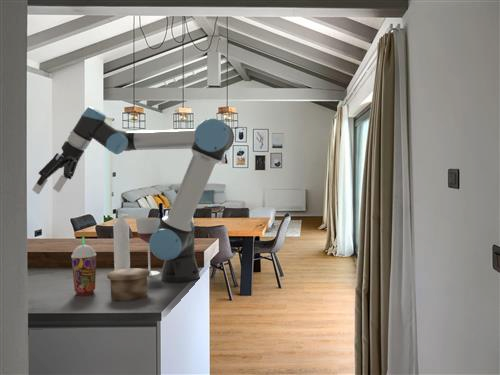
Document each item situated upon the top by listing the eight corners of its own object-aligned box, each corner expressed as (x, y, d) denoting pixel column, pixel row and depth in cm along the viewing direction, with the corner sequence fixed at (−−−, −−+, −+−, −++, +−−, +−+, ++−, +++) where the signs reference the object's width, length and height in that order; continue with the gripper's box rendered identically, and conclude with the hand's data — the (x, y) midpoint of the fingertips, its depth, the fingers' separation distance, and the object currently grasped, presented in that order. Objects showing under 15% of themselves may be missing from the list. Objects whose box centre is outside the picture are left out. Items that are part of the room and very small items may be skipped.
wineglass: (156, 276, 182) (154, 220, 181) (133, 275, 184) (131, 219, 183) (164, 271, 191) (163, 217, 190) (143, 270, 193) (141, 217, 192)
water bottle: (112, 272, 190) (110, 214, 189) (126, 270, 194) (124, 213, 193) (120, 276, 183) (118, 215, 182) (135, 273, 187) (133, 214, 186)
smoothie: (82, 297, 152) (80, 239, 151) (67, 294, 156) (65, 237, 156) (102, 292, 159) (100, 236, 158) (87, 289, 163) (85, 234, 163)
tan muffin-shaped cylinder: (146, 288, 163) (146, 266, 162) (153, 298, 150) (152, 274, 149) (106, 293, 157) (105, 270, 157) (109, 303, 144) (108, 279, 144)
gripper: (84, 141, 180) (56, 184, 182) (49, 136, 155) (17, 186, 158) (98, 152, 180) (70, 195, 182) (66, 149, 155) (34, 198, 157)
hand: (46, 191), depth 170 cm, fingers open, 13 cm apart
